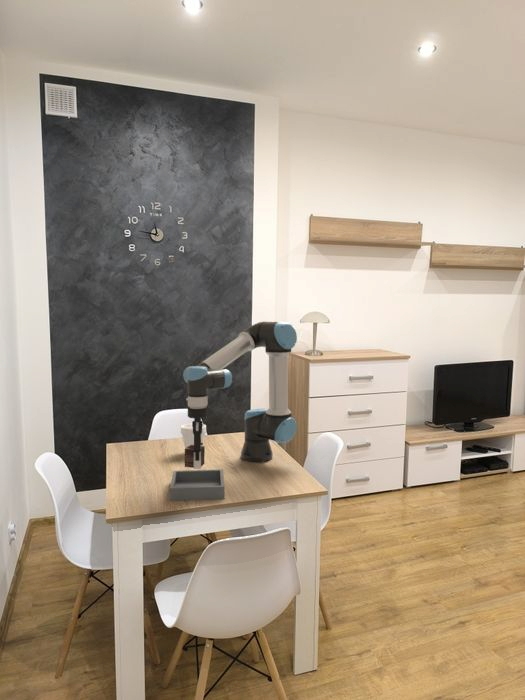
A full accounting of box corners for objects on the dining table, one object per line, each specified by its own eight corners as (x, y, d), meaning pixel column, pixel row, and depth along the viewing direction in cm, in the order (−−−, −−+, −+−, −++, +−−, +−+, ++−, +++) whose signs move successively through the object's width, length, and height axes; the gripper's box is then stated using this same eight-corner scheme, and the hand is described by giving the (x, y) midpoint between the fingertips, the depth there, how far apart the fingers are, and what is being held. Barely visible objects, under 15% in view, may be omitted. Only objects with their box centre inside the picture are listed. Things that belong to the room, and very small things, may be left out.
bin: (222, 480, 203) (222, 469, 202) (224, 498, 183) (224, 486, 183) (173, 481, 201) (173, 470, 200) (169, 500, 181) (169, 488, 180)
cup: (211, 452, 242) (211, 425, 241) (195, 458, 232) (195, 430, 230) (192, 448, 248) (192, 422, 247) (175, 454, 238) (175, 426, 237)
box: (204, 464, 193) (205, 446, 193) (198, 469, 187) (199, 450, 187) (190, 462, 195) (190, 444, 194) (184, 467, 189) (184, 448, 188)
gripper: (188, 402, 199) (188, 457, 200) (186, 412, 179) (186, 473, 181) (207, 401, 199) (207, 457, 201) (207, 411, 180) (207, 473, 181)
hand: (197, 465), depth 191 cm, fingers closed on box, 7 cm apart
